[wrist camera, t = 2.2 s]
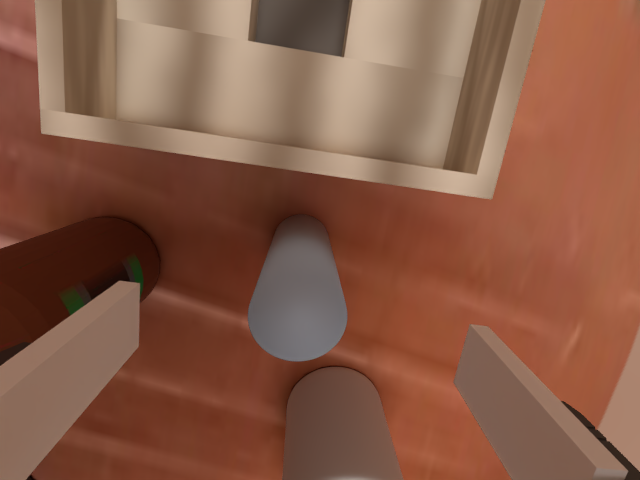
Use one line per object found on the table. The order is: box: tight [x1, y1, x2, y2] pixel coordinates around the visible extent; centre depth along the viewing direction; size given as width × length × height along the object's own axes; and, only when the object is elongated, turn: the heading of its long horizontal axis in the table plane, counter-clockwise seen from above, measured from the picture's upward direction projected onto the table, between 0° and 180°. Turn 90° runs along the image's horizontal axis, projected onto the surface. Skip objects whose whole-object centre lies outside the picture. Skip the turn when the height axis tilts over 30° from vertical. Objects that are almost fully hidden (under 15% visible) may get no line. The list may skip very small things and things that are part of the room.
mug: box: [282, 367, 403, 480], centre depth 27 cm, size 12×8×11 cm
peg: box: [248, 214, 347, 361], centre depth 22 cm, size 4×4×13 cm
